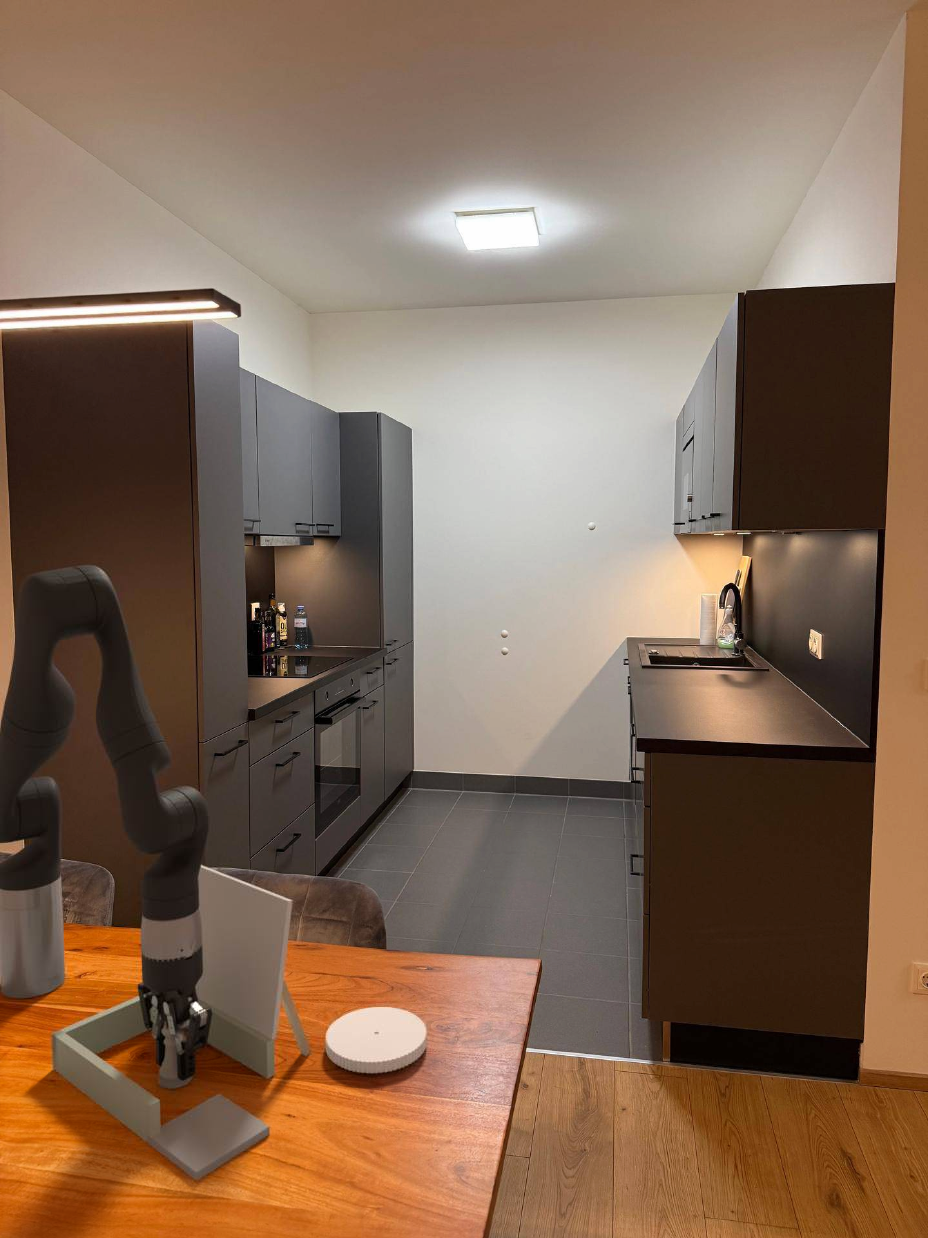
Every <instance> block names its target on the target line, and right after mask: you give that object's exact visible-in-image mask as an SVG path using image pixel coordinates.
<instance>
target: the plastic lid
mask: <svg viewBox="0 0 928 1238" xmlns="http://www.w3.org/2000/svg"><path fill="white" fill-rule="evenodd" d="M326 1030H327V1031H326V1033H325V1051H326V1054H327V1057H328V1058H329V1060H330V1061H331V1062H332V1063H334V1064H335V1065H337V1066H338V1067H341V1068H344V1070H348V1071H352V1072H353V1073H354V1072H356V1073H361V1074H364V1073H366V1074H378V1073H380V1074H382V1073H387V1072H392V1071H397V1070H400V1069H401V1068H405V1066H406V1067H407V1066H409V1064H410V1065H411V1064H412V1063H414V1062H415V1061H417V1060H418V1059H419V1058H420V1057H421V1056H422V1055H423V1053H424V1052H425V1051H426V1048H427V1045H428V1044H427V1043H428V1031H427V1030H428V1029H427V1026H426V1023H424V1021H423V1020H422V1019H421V1018H420V1017H418V1015H416V1014H414V1013H413V1012H409V1011H407V1010H406V1009H402V1008H398V1007H396V1008H395V1007H390V1006H388V1007H387V1006H384V1007H383V1006H379V1007H378V1006H375V1007H374V1006H371V1007H366V1008H362V1009H361V1008H359V1009H357V1010H356V1009H355V1010H354V1011H350V1012H348V1013H347V1014H344V1015H342V1016H340V1017H338V1018H337V1019H335V1020H334V1021H333V1022H332V1023H331V1024H330V1025H329V1027H328V1029H326Z"/></svg>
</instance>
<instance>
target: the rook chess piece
mask: <svg viewBox="0 0 928 1238" xmlns="http://www.w3.org/2000/svg"><path fill="white" fill-rule="evenodd" d="M184 1024H185V1022H183V1023H181V1024H178V1025H177V1026H178V1027H180V1026H182V1025H184ZM162 1034H163V1035H164V1036H165V1040H164V1044H165V1058H164V1061H163V1063H162V1066H159V1070H158V1079H157V1080H158V1081H157V1082H158V1084H159V1085H160V1086H161V1087H162V1088H163V1089H166V1090H178V1089H177V1088H179V1089H181V1088H184V1087H185V1086H187V1085H188V1084H190V1082H191V1081H192V1079H193V1078H194V1075H193V1076H192V1077H190V1078H188V1079H186V1080H184V1081H181V1080H180V1079H178V1075H177V1052H178V1051H177V1046H176V1041H175V1037H174V1036H171V1034H170V1029H169V1024H168V1021H167V1020H166V1021H165V1024H164V1027H163V1029H162ZM186 1038H187V1036H186V1035H185V1034H184V1035H183V1039H184V1042H186ZM183 1086H184V1087H183Z"/></svg>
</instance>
